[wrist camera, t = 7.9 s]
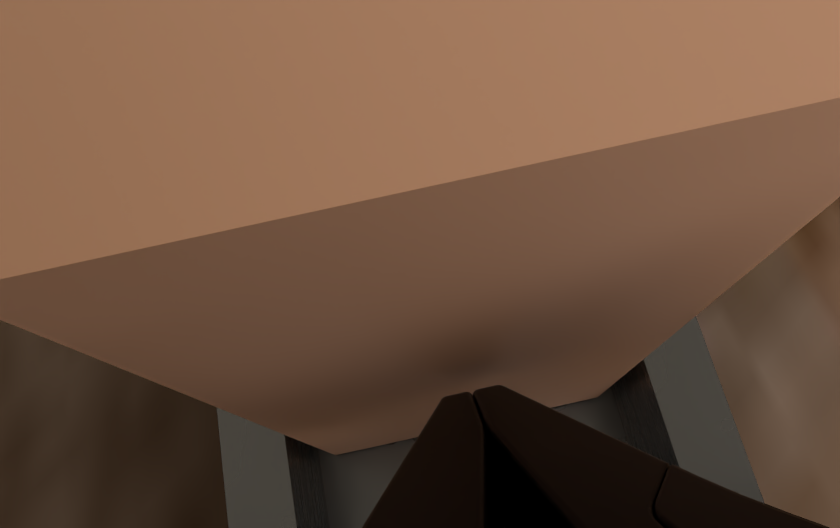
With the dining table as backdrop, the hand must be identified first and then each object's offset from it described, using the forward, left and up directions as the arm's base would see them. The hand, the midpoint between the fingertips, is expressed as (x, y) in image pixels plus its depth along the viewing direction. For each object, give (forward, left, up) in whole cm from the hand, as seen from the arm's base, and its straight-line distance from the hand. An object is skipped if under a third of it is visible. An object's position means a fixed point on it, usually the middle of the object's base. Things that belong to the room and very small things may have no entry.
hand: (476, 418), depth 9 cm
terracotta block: (+2, -3, -6) cm, 7 cm away
